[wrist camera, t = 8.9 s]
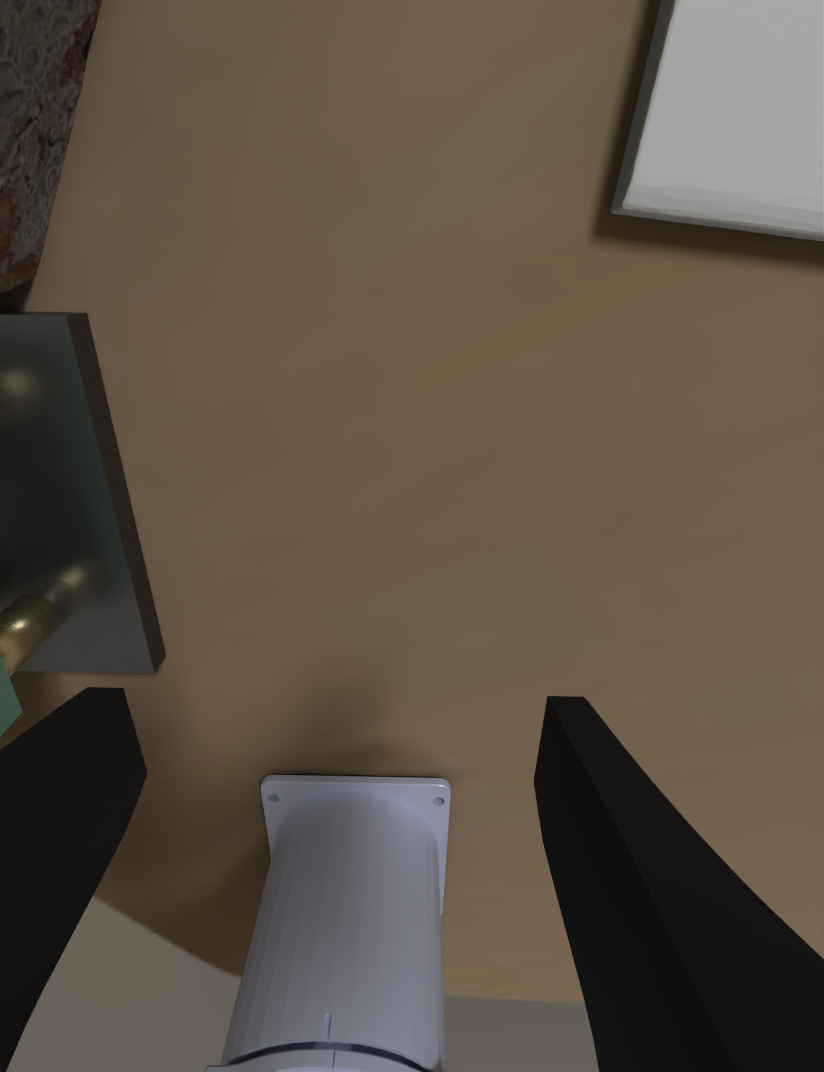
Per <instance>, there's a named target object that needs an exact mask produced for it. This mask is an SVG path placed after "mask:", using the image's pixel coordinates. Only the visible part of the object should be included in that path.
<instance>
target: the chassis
mask: <svg viewBox="0 0 824 1072" xmlns="http://www.w3.org/2000/svg"><path fill="white" fill-rule="evenodd" d="M0 656H1V658H2V661H3V663H4V666H5V668H6V671H7V673H8V676H9V678H10V677H11V676H12V675H13V674H14V673H15V672H16V671H40V672H93V673H145V674H155V672H156V671H157V669H158V668H159V666H160V664H161V663H162V661H163V660H164V658H165V657H166V654H165V649H164V645H163V641H162V636H161V632H160V628H159V623H158V619H157V615H156V610H155V606H154V602H153V597H152V593H151V589H150V584H149V580H148V576H147V571H146V567H145V563H144V558H143V554H142V550H141V545H140V541H139V537H138V532H137V528H136V524H135V519H134V515H133V511H132V506H131V502H130V498H129V493H128V489H127V485H126V481H125V476H124V472H123V468H122V463H121V459H120V455H119V450H118V446H117V442H116V437H115V433H114V429H113V424H112V420H111V416H110V411H109V407H108V403H107V398H106V394H105V390H104V385H103V381H102V377H101V372H100V368H99V364H98V359H97V355H96V351H95V346H94V342H93V338H92V333H91V329H90V325H89V320H88V316H87V313H69V312H11V311H0Z"/></svg>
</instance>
